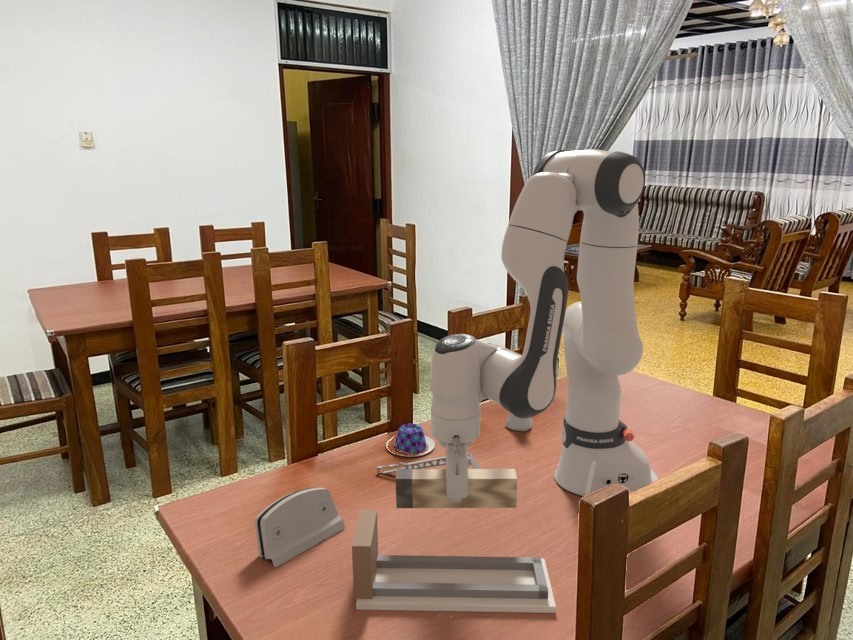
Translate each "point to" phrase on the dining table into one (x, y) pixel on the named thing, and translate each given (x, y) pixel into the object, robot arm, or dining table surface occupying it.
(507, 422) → the flask
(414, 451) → the pudding
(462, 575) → the slot board
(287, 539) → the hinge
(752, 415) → the dining table surface
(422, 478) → the wooden block
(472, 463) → the bracket
